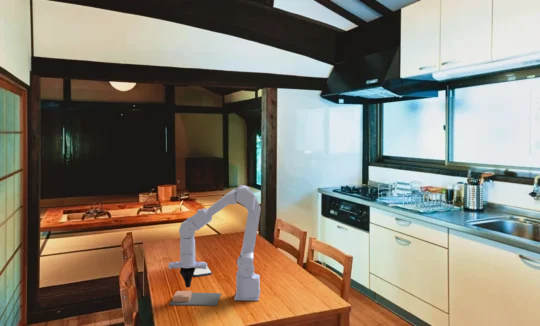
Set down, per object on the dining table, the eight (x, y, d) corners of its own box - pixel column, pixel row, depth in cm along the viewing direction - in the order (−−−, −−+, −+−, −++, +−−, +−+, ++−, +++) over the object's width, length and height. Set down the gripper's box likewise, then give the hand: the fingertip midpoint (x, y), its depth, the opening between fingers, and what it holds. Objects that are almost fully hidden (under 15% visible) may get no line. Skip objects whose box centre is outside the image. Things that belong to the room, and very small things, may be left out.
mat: (221, 294, 146) (221, 293, 146) (216, 305, 136) (216, 304, 136) (176, 293, 146) (176, 292, 146) (169, 305, 136) (169, 303, 136)
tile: (191, 291, 143) (176, 290, 143) (188, 296, 138) (173, 296, 138) (192, 295, 143) (177, 295, 143) (188, 301, 138) (173, 301, 138)
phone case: (212, 276, 167) (204, 264, 181) (212, 272, 166) (204, 261, 181) (193, 279, 163) (187, 266, 178) (193, 275, 163) (187, 263, 178)
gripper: (208, 249, 143) (208, 282, 144) (172, 248, 143) (172, 282, 144) (204, 255, 136) (205, 290, 137) (166, 254, 136) (167, 289, 137)
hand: (188, 286), depth 140 cm, fingers closed
